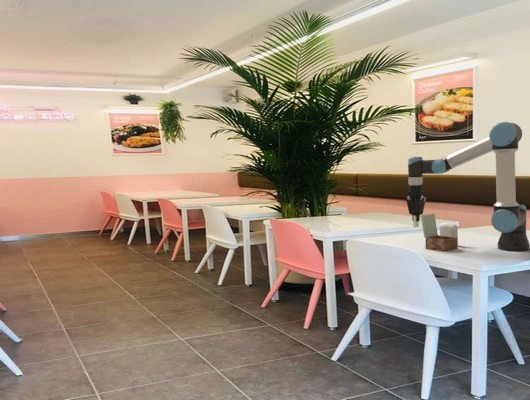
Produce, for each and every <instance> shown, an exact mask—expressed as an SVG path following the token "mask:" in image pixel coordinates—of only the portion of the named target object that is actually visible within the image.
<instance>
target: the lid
mask: <svg viewBox="0 0 530 400" xmlns="http://www.w3.org/2000/svg"><path fill="white" fill-rule="evenodd" d="M420 219H421V225H422V232H423V237H424V238H425V239H426V238H427V237H432V236H437V235H439V234H438V228H437V221H436V215H435V213H429V214H428V213H427V214H421V215H420Z"/></svg>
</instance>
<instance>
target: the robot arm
mask: <svg viewBox="0 0 530 400" xmlns="http://www.w3.org/2000/svg"><path fill="white" fill-rule="evenodd" d="M488 135H489V136H488V137H485V138H484V139H481V140H480V141H477V142H475V143H472V144H470V145H468V146H466V147H464V148H462V149H460V150H457V151H455V152H453V153H450V154H449V155H446V156H444V157H443V158H440V159H423V157H422V156H410V157H408V159H407V160H408V162H407V168H408V169H407V170H408V171H407V172H408V174H407V175H408V176H407V177H408V179H407V180H408V181H407V182H408V184H407V185H408V192H409V193H408V195H407V196H405V197H404V198H405V199H404V200H405V201H406V204H407V210H408V214H410V215H411V216H412V217H411V219H412V221H413V224H412V225H413V228H420V227H419V226H420V225H419V224H420V219H421V216H422V215H424V214H423V213H424V210H425V205H426V201H427V200H428V199H427V197H425V196H424V194H423V191H424V189H423V188H424V186H423V177H424V175H425V174H426V175H428V174H429V175H431V174H432V175H434V174H435V175H442V174H445V173H448V172H449V171H450V170H452V169H454V168H457V167H460V166H461V165H464V164H467V163H468V162H471V161H473V160H475V159H478V158H479V157H482V156H484V155H486V154H489V153H491V152H493V153H494V154H495V179H496V180H495V186H496V187H495V188H496V192H495V193H496V202H494V204H493V213H492V216H491V218H490V222H491V226H492V227H493V228H494V229H495V230H496V231H497V232H500V236H499V239H498V241H497V249H499V250H504V251H511V252H519V251H520V252H521V251H522V252H525V251H530V241H529V239H528V236H527V207H526V205H524V204H519V203H518V202H517V199H516V195H517V194H516V191H517V190H516V188H517V187H516V152H517V151H518V150H519V142H520V141H521V140H522V137H523V130H522V128H521V126H520V125H518V124H517V123H515V122H509V121H502V122H498V123H496V124H494V125H493V126H492V127H491V128H490V131H489V134H488Z"/></svg>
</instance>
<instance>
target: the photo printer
mask: <svg viewBox="0 0 530 400" xmlns="http://www.w3.org/2000/svg"><path fill="white" fill-rule="evenodd" d="M439 235H440V236H448V237H457V238H458V235H459V233H458V226H457V224H455V223H453V222H444V223H443V222H442V223H440V225H439Z"/></svg>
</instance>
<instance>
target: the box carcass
mask: <svg viewBox="0 0 530 400" xmlns="http://www.w3.org/2000/svg"><path fill="white" fill-rule="evenodd" d="M458 245H459V240H458V238H457V237H448V236H440V234H438V235H437V236H432V237H427V238H425V250H433V251H438V252H445V251H446V252H450V251H454V250H459V249H458V248H459V247H458Z"/></svg>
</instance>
